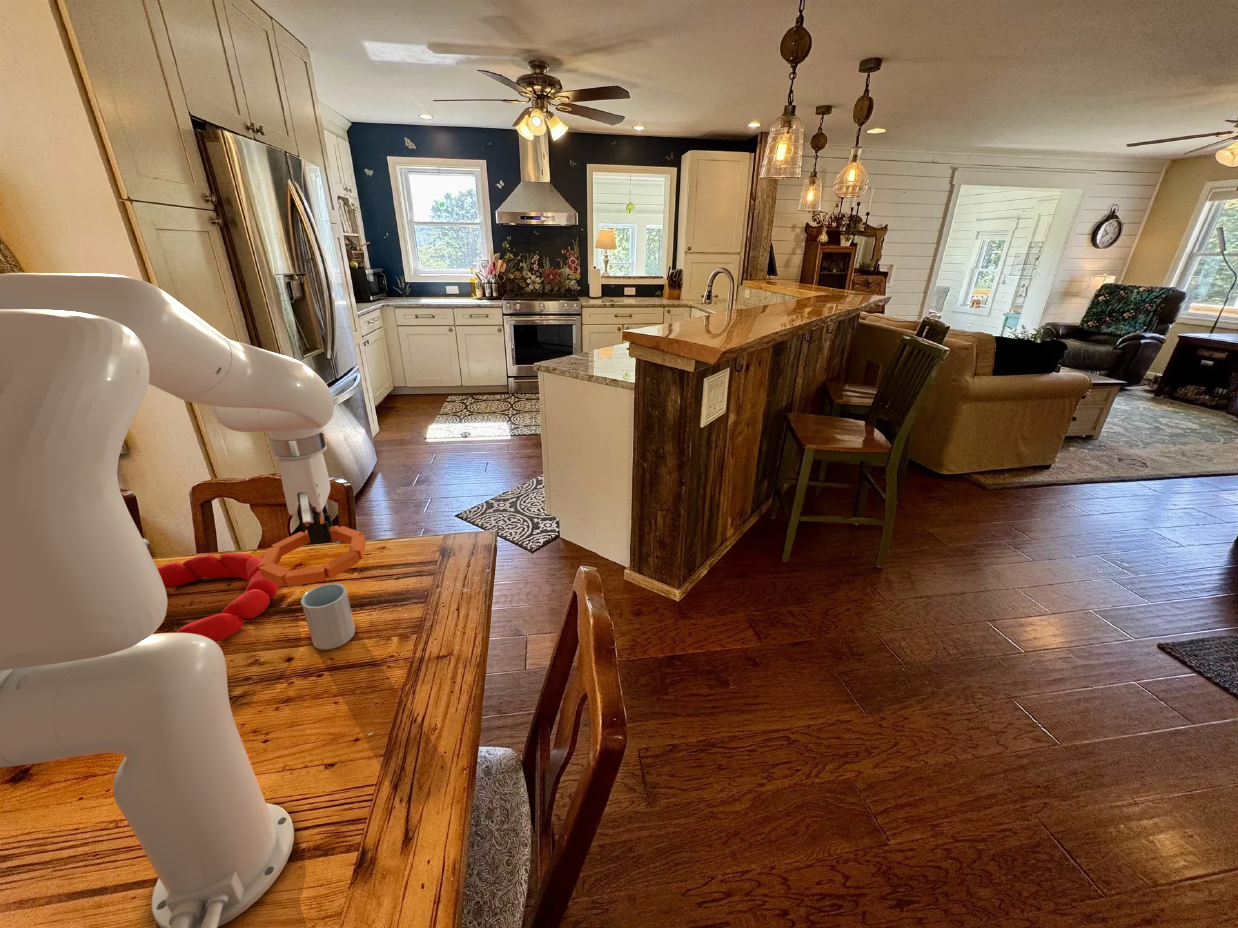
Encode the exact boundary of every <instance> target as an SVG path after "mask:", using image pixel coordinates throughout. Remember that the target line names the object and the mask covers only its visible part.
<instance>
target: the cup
mask: <svg viewBox="0 0 1238 928" xmlns="http://www.w3.org/2000/svg"><path fill="white" fill-rule="evenodd" d="M300 604H301V608H302V611H303V616H304V618H305V619H304V620H305V622H306V626H307V629H308V632H309V636H310V640H311V642H312V645H313V647H314V648H316V649H318V650H332V649H335V648H339V647H342V646H344V644H346V643H347V642H349V641H350V640H352V638H353V637H354V636H355V633H356V626H355V622H354V621H355V620H354V617H353V612H352V609H351V604H350V599H349V595H348V591H347V588H346V586H345V585H344V584H341V583H335V582H333V583H326V584H321V585H318V586H315V587H314V588H311V589H310V590H308V591H306V593H304V595H302V597H301V600H300Z"/></svg>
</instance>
